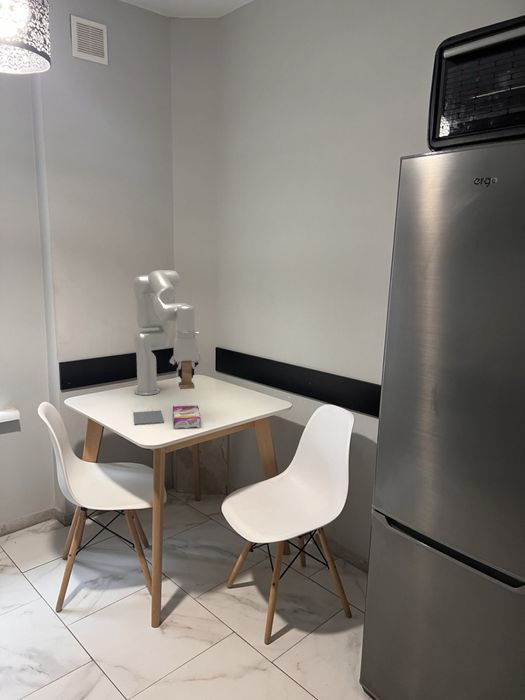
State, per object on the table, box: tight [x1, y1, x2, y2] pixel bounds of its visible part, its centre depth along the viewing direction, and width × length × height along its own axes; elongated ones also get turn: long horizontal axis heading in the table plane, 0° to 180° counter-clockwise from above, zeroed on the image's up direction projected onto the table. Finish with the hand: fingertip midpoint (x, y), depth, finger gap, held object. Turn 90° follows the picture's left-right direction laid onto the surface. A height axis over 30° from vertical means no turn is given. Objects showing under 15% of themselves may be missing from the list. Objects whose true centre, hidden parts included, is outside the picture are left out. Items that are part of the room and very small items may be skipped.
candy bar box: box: [172, 405, 202, 429], centre depth 214 cm, size 11×5×16 cm
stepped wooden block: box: [178, 360, 195, 390], centre depth 216 cm, size 6×6×12 cm
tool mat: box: [133, 410, 165, 426], centre depth 219 cm, size 16×12×1 cm
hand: (186, 377), depth 216 cm, fingers closed on stepped wooden block, 4 cm apart
